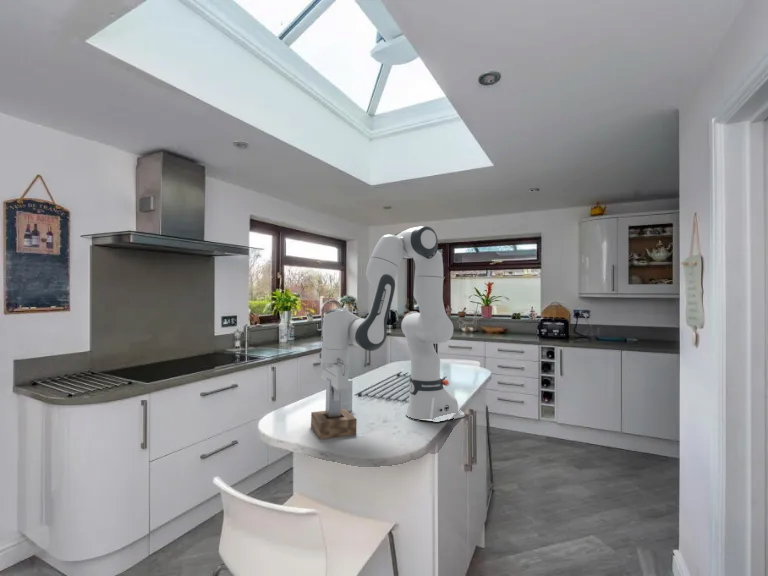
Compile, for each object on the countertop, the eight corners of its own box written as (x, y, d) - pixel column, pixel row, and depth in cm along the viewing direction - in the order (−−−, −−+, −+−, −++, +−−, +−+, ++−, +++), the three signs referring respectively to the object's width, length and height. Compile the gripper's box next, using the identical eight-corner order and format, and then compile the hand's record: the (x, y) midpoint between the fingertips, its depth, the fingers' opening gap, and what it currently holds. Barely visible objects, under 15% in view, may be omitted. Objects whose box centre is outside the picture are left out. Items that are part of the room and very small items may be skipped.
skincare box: (345, 408, 150) (346, 378, 151) (352, 410, 147) (353, 379, 148) (333, 411, 146) (334, 380, 147) (340, 413, 143) (340, 382, 144)
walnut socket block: (344, 422, 132) (344, 408, 133) (356, 434, 122) (356, 418, 122) (311, 427, 127) (311, 412, 128) (320, 439, 117) (320, 423, 117)
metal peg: (336, 412, 127) (337, 377, 128) (340, 416, 124) (341, 379, 124) (325, 414, 126) (326, 378, 126) (328, 417, 122) (329, 380, 122)
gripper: (354, 360, 117) (353, 405, 117) (335, 352, 136) (333, 390, 135) (334, 361, 114) (333, 407, 114) (317, 352, 133) (316, 391, 133)
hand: (333, 398), depth 125 cm, fingers closed on metal peg, 4 cm apart
